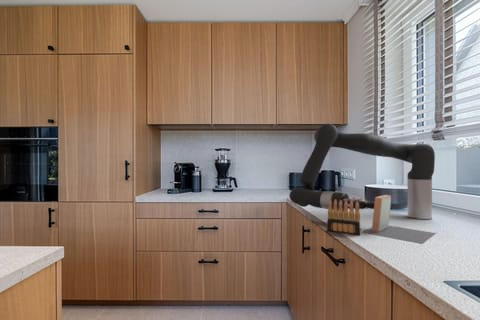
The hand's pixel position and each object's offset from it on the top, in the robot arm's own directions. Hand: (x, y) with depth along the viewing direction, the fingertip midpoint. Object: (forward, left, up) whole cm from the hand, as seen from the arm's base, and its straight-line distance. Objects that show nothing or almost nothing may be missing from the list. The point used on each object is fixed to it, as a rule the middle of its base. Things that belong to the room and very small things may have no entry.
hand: (379, 206), depth 98 cm
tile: (0, 0, -8) cm, 8 cm away
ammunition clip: (+14, -7, -9) cm, 18 cm away
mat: (0, +6, -9) cm, 11 cm away
